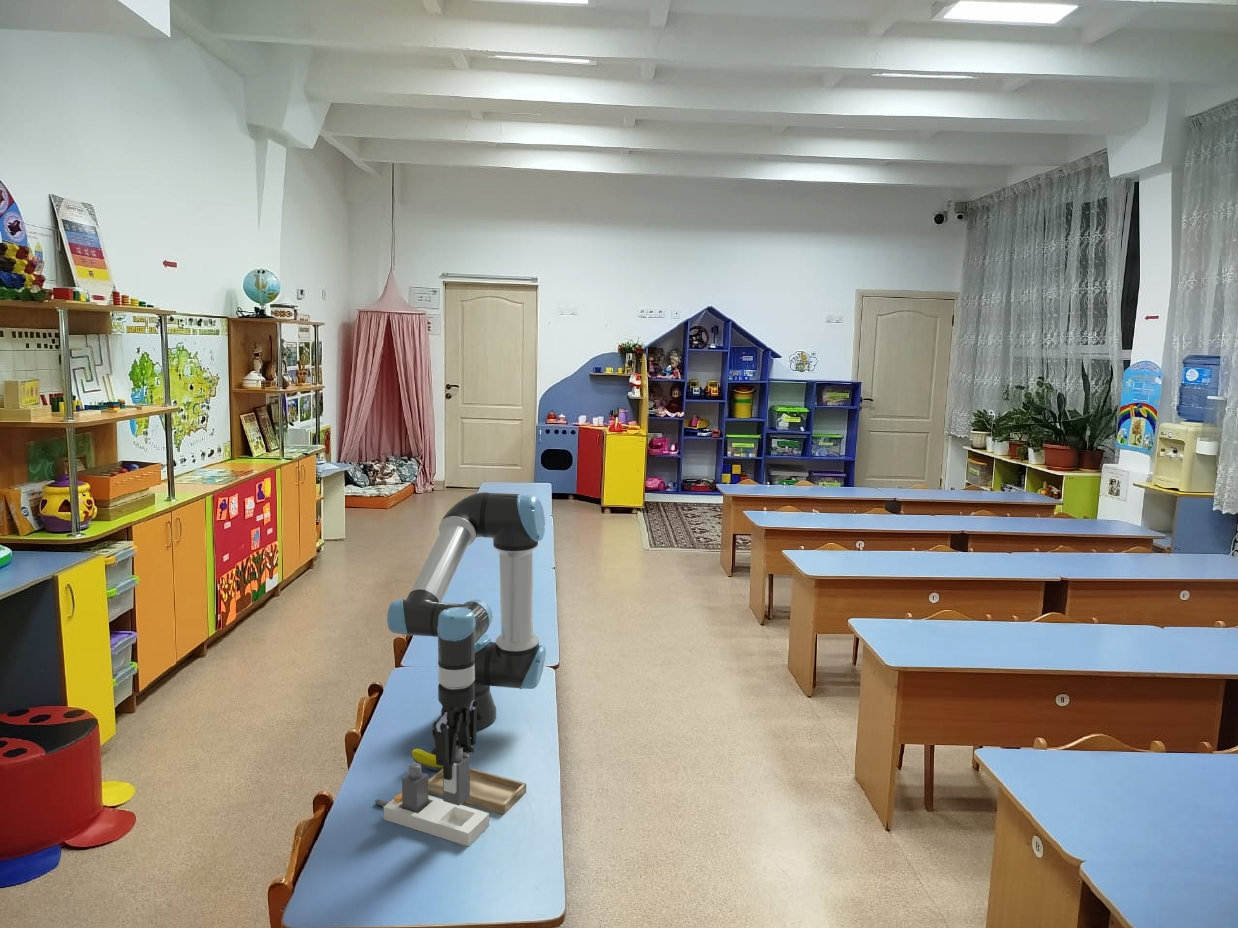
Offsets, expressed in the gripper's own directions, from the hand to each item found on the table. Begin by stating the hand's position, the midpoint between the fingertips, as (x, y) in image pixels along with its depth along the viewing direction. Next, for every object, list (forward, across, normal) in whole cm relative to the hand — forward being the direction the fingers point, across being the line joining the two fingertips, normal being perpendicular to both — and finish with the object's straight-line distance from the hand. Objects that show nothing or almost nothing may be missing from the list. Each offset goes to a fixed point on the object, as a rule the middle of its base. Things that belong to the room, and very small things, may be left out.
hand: (456, 785), depth 178 cm
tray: (+10, -14, -5) cm, 18 cm away
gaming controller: (+10, -23, -20) cm, 32 cm away
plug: (+3, 0, 0) cm, 3 cm away
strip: (+10, 0, -8) cm, 13 cm away
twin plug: (+10, 0, -11) cm, 15 cm away
